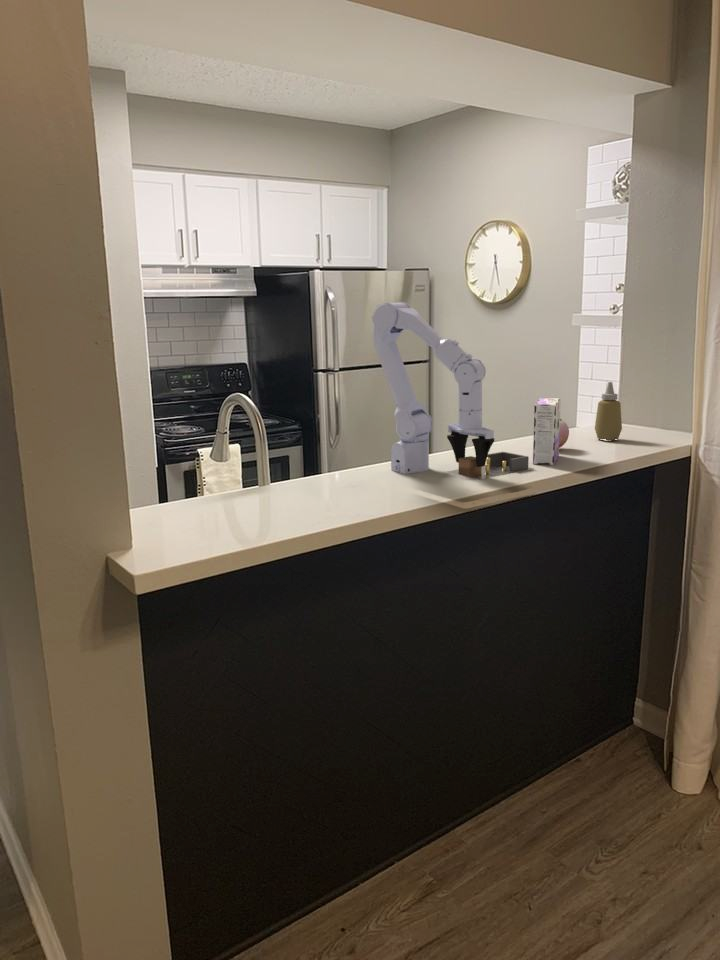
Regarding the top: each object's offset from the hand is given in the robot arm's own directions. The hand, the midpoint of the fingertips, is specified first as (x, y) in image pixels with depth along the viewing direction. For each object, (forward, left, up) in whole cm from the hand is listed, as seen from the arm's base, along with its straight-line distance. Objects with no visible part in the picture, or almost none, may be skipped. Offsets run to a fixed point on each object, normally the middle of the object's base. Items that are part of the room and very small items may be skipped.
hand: (470, 464), depth 194 cm
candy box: (+31, +4, -4) cm, 32 cm away
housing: (+13, 0, -2) cm, 13 cm away
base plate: (+7, 0, -4) cm, 8 cm away
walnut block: (0, 0, -3) cm, 3 cm away
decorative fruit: (+44, +13, -4) cm, 46 cm away
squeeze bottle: (+68, +13, -4) cm, 70 cm away
